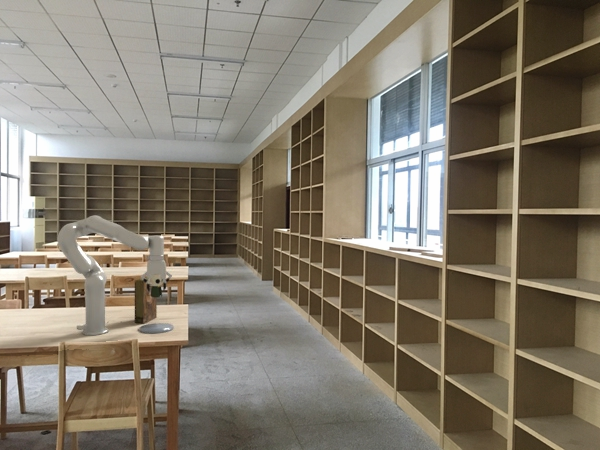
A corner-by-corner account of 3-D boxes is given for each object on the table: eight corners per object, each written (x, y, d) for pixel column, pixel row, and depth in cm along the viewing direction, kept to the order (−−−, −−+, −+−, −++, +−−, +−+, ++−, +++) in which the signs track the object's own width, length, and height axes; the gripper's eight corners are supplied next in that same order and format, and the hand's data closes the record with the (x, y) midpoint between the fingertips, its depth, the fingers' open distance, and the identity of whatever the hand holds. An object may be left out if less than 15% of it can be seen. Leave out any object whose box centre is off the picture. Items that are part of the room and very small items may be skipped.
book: (149, 316, 287) (149, 275, 286) (157, 317, 286) (157, 276, 285) (134, 323, 271) (134, 280, 270) (143, 324, 270) (143, 280, 269)
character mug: (153, 299, 253) (153, 275, 252) (143, 298, 256) (143, 274, 256) (168, 296, 262) (168, 273, 261) (159, 295, 266) (159, 271, 265)
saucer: (138, 334, 249) (138, 332, 249) (140, 325, 266) (140, 324, 266) (173, 332, 254) (173, 330, 254) (173, 324, 271) (173, 322, 271)
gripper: (139, 259, 252) (139, 292, 253) (173, 258, 257) (173, 291, 258) (140, 257, 259) (140, 289, 260) (173, 257, 264) (172, 288, 265)
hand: (156, 290), depth 259 cm, fingers closed on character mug, 7 cm apart
